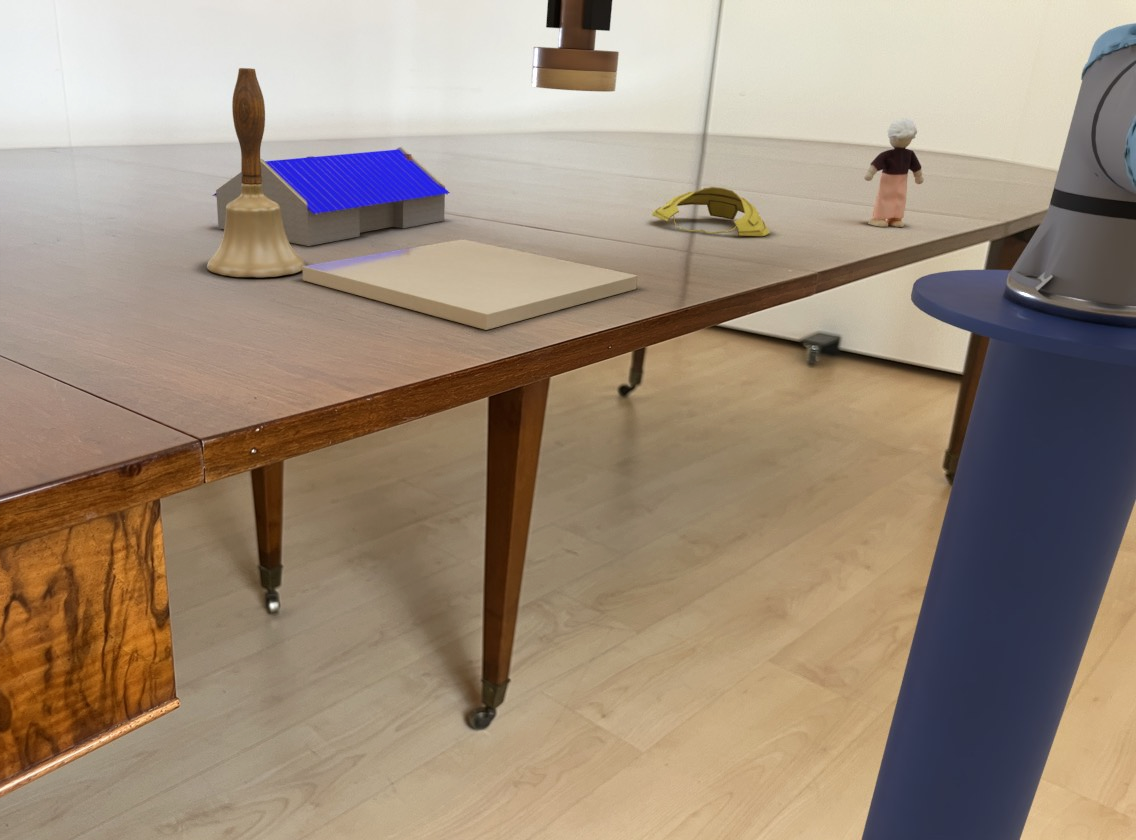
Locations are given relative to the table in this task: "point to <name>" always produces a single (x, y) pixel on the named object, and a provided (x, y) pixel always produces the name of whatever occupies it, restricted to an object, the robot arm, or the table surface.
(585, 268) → the tile
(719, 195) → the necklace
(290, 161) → the model house
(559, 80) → the dish brush
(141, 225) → the table surface
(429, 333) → the table surface
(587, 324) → the table surface
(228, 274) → the hand bell
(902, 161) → the grandmother figurine
